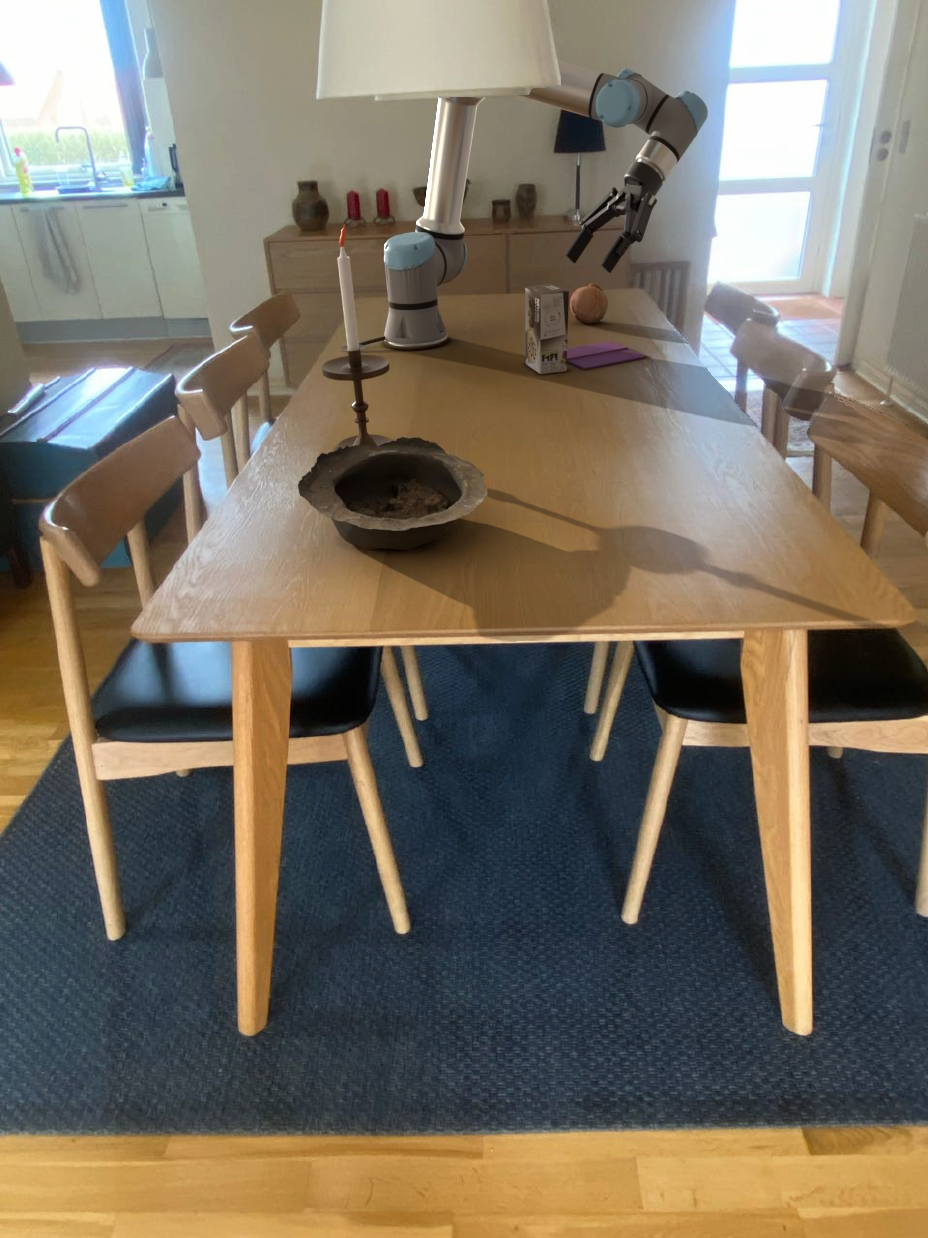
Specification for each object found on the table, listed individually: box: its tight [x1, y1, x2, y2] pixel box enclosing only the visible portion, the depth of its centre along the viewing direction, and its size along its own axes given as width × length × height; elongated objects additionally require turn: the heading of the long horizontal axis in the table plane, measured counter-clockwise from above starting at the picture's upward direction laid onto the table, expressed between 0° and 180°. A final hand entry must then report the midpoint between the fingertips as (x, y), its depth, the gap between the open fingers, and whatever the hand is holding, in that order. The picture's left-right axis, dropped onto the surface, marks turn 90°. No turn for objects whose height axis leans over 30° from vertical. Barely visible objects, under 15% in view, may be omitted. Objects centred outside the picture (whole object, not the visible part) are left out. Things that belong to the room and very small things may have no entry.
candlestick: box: [321, 223, 392, 449], centre depth 131 cm, size 11×11×35 cm
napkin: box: [567, 340, 648, 370], centre depth 182 cm, size 16×14×1 cm
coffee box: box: [524, 283, 570, 375], centre depth 172 cm, size 9×6×16 cm
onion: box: [569, 282, 609, 325], centre depth 205 cm, size 10×9×10 cm
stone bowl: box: [297, 436, 488, 551], centre depth 112 cm, size 25×25×9 cm
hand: (587, 263), depth 171 cm, fingers open, 13 cm apart
